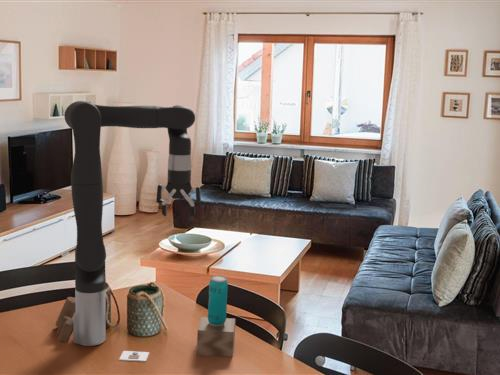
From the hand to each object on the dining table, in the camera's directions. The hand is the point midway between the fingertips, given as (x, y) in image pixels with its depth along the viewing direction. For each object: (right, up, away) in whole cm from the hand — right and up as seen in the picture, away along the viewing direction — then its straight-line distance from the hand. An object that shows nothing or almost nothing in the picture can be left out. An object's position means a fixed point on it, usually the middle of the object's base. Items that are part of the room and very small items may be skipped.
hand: (178, 216), depth 218 cm
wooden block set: (-36, -38, -1) cm, 52 cm away
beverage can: (+13, -33, -10) cm, 37 cm away
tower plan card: (-11, -42, -18) cm, 46 cm away
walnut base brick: (+13, -41, -9) cm, 44 cm away
